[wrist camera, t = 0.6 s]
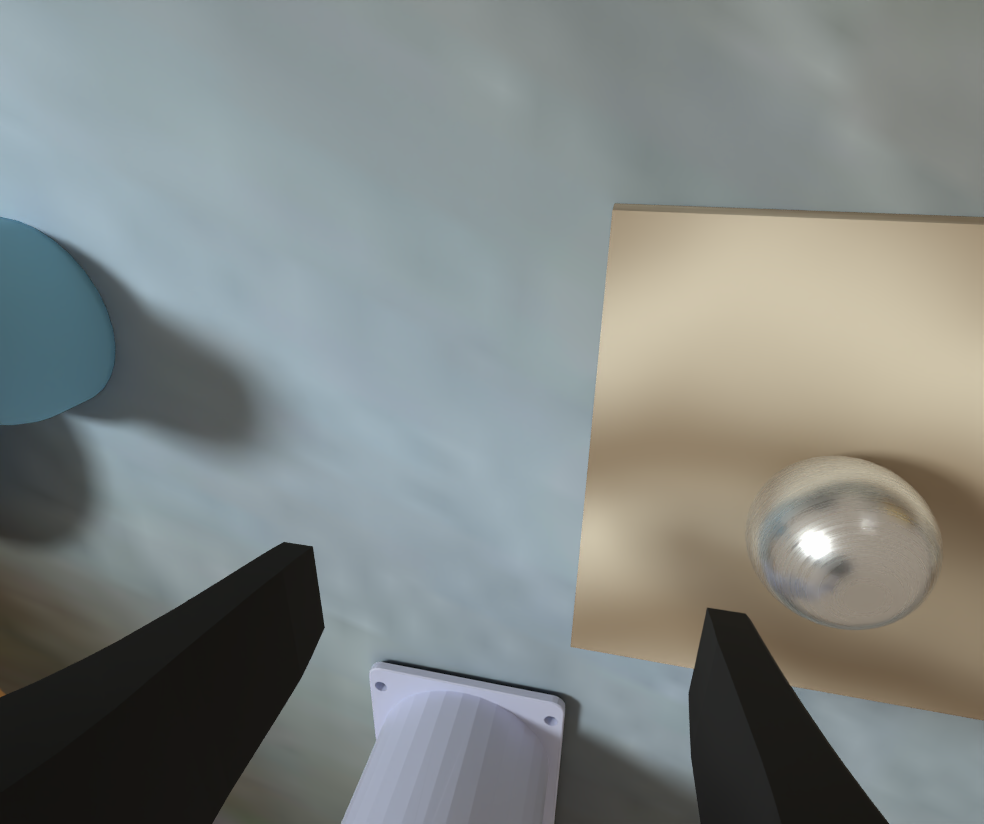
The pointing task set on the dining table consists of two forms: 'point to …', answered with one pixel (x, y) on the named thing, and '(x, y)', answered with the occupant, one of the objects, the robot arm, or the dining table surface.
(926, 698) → the ash board
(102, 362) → the light blue lumpy shape
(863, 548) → the steel ball
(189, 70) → the dining table surface
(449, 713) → the robot arm
